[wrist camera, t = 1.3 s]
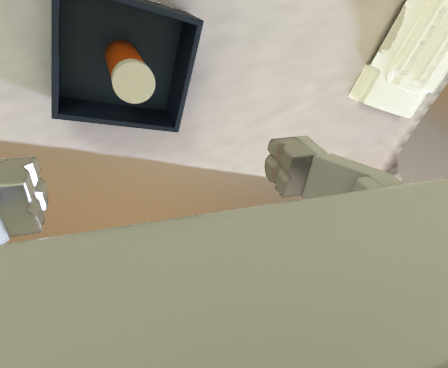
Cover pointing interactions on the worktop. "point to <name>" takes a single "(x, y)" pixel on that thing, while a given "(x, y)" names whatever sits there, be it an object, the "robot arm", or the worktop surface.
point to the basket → (98, 69)
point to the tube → (129, 72)
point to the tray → (407, 60)
